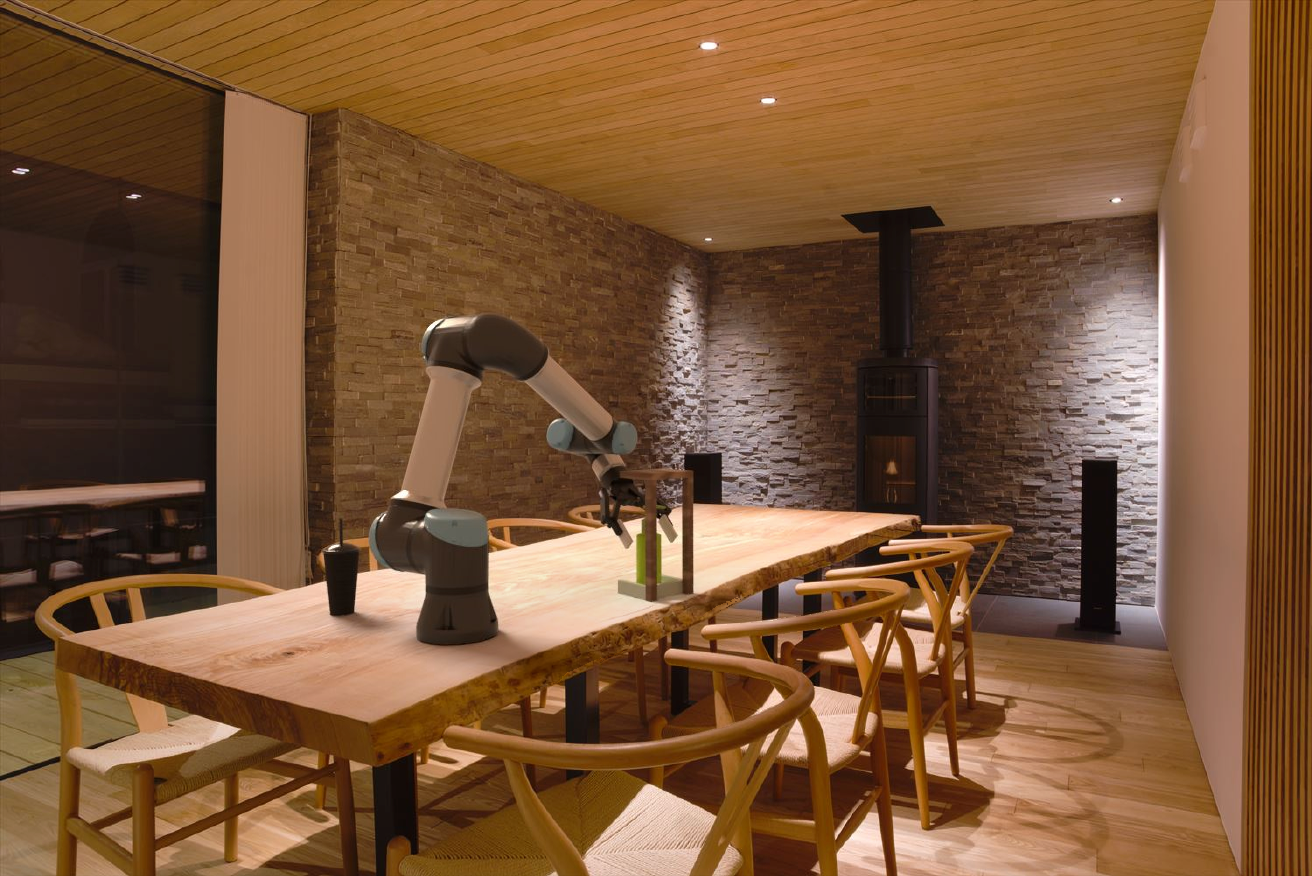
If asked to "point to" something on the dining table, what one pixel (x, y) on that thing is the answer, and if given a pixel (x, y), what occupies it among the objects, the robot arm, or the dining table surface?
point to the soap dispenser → (641, 555)
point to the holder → (663, 589)
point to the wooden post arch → (651, 525)
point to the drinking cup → (341, 575)
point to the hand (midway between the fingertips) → (652, 542)
